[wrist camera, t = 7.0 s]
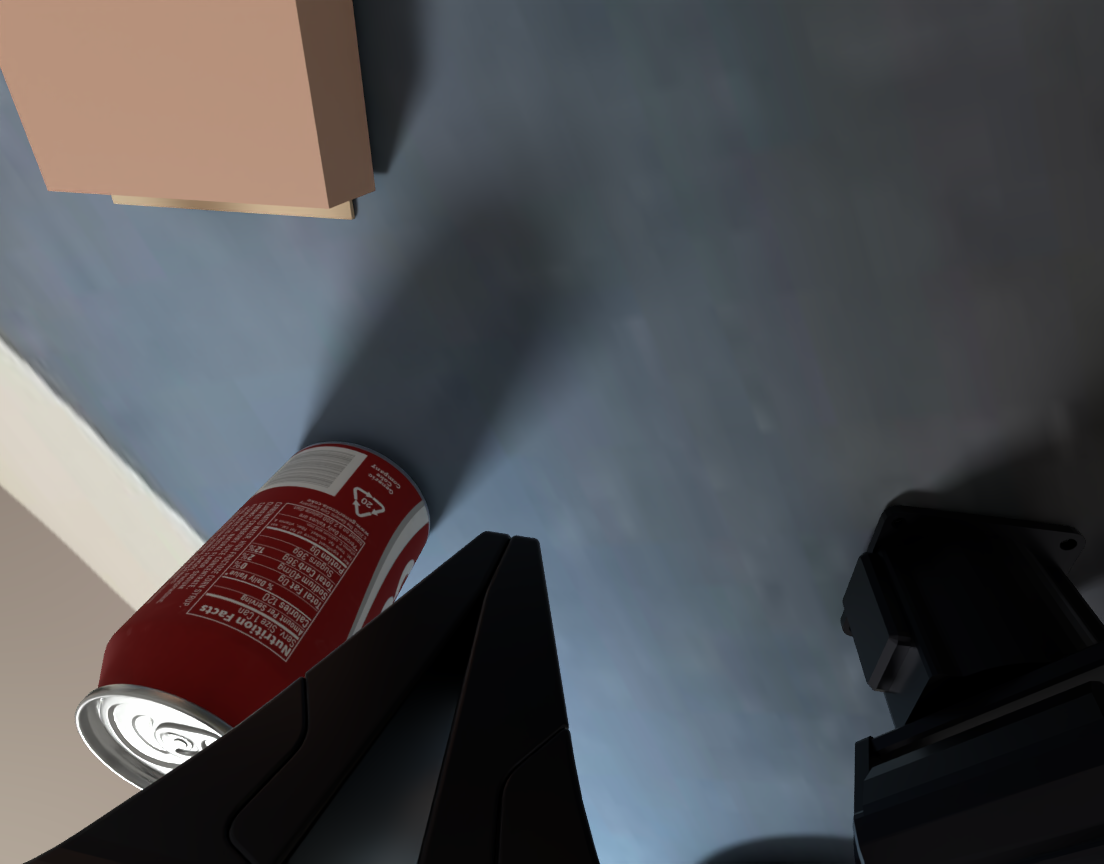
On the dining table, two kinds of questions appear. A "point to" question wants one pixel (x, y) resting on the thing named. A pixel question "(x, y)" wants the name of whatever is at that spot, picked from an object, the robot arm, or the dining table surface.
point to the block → (192, 98)
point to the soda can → (255, 608)
